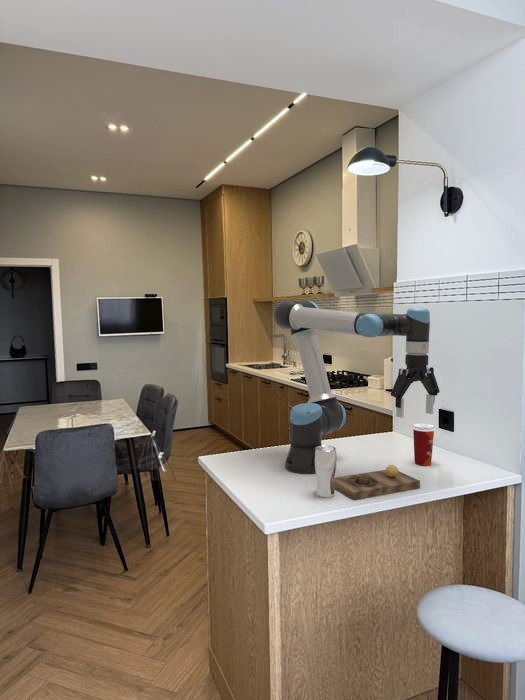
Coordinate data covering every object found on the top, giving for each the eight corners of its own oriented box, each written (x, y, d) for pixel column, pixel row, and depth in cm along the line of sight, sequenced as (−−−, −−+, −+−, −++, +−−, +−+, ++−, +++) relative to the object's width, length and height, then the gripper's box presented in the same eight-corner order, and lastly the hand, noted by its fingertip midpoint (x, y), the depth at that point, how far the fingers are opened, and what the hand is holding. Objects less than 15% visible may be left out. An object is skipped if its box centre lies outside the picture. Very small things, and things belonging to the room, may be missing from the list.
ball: (385, 477, 165) (385, 466, 164) (386, 474, 168) (386, 462, 168) (397, 479, 163) (397, 467, 163) (398, 475, 167) (398, 464, 167)
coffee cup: (435, 467, 183) (436, 428, 182) (412, 466, 185) (413, 427, 184) (432, 461, 191) (433, 423, 190) (410, 459, 193) (411, 422, 192)
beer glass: (321, 488, 162) (322, 444, 161) (340, 493, 157) (340, 447, 156) (310, 494, 156) (310, 448, 155) (328, 499, 152) (329, 452, 151)
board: (353, 500, 152) (353, 492, 151) (330, 485, 164) (330, 478, 164) (419, 488, 162) (420, 480, 162) (392, 475, 175) (392, 468, 175)
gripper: (396, 356, 158) (394, 421, 160) (451, 353, 169) (449, 414, 171) (381, 354, 165) (379, 416, 166) (435, 351, 176) (432, 410, 178)
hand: (414, 415), depth 169 cm, fingers open, 13 cm apart
